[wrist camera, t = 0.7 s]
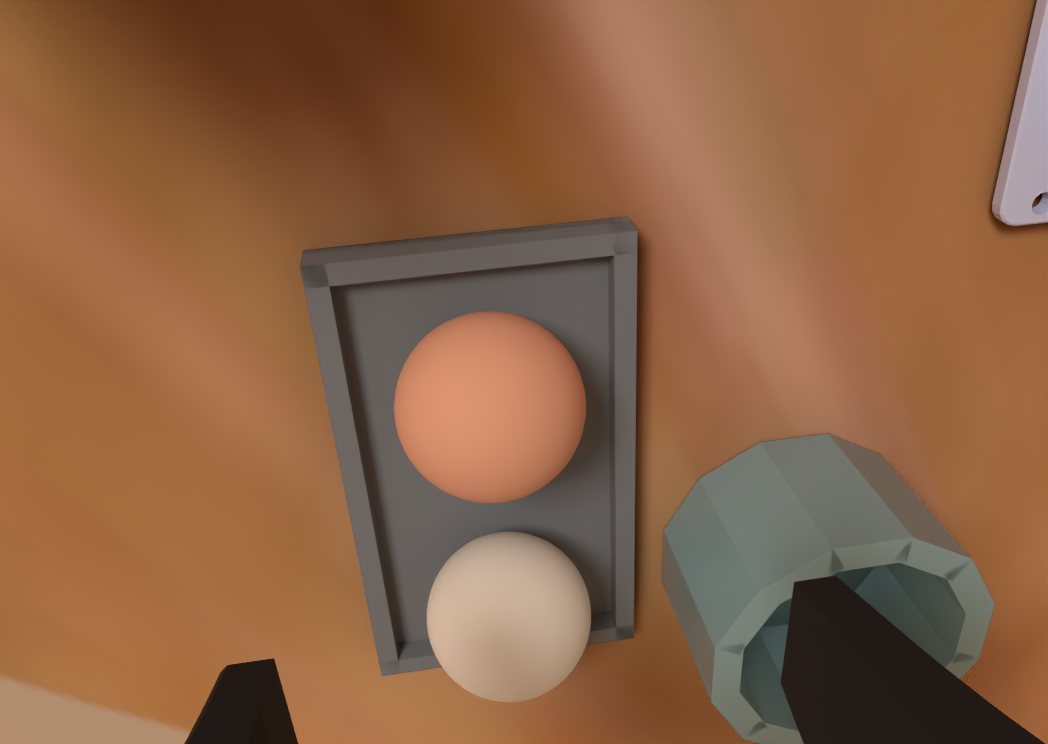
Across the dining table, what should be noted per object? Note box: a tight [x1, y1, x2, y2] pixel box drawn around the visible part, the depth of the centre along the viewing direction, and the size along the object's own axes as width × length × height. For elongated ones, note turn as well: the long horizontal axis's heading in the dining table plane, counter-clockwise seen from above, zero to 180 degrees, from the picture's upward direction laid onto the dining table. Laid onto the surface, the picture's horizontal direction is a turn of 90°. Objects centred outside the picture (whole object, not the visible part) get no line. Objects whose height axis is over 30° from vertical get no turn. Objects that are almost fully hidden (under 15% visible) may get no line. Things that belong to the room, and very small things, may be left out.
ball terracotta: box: [394, 311, 586, 503], centre depth 18 cm, size 4×4×4 cm
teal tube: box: [662, 434, 995, 744], centre depth 23 cm, size 7×7×4 cm
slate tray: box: [300, 217, 638, 676], centre depth 21 cm, size 7×12×1 cm, turn 3°
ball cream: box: [427, 531, 591, 702], centre depth 21 cm, size 4×4×4 cm
